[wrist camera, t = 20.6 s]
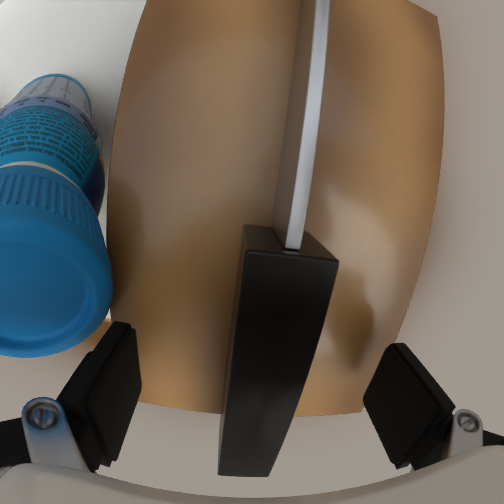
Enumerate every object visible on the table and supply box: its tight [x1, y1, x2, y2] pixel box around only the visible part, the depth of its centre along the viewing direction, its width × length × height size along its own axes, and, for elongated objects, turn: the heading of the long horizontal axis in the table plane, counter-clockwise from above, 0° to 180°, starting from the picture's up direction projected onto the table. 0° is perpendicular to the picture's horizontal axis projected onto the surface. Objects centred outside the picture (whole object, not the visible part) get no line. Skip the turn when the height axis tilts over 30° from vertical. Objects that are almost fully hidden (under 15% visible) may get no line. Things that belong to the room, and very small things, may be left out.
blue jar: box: [0, 74, 113, 358], centre depth 11 cm, size 8×8×20 cm
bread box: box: [106, 0, 444, 417], centre depth 15 cm, size 12×20×14 cm, turn 172°
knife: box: [218, 0, 339, 477], centre depth 7 cm, size 21×2×3 cm, turn 172°
